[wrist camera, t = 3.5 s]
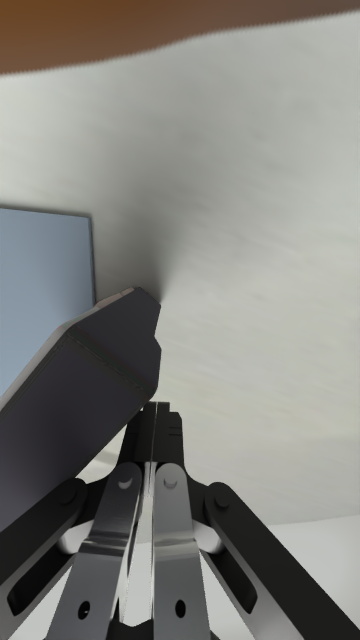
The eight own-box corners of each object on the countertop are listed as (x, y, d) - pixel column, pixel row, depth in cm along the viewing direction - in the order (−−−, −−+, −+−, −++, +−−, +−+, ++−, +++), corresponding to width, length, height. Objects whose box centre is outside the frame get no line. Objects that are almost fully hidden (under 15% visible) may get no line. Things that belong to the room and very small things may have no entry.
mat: (90, 218, 18) (87, 217, 18) (100, 408, 26) (98, 412, 25) (-86, 200, 17) (-95, 198, 17) (-23, 402, 25) (-28, 405, 24)
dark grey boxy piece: (134, 281, 20) (46, 307, 6) (166, 308, 21) (159, 392, 7) (70, 356, 22) (-124, 527, 7) (102, 379, 23) (-15, 572, 8)
